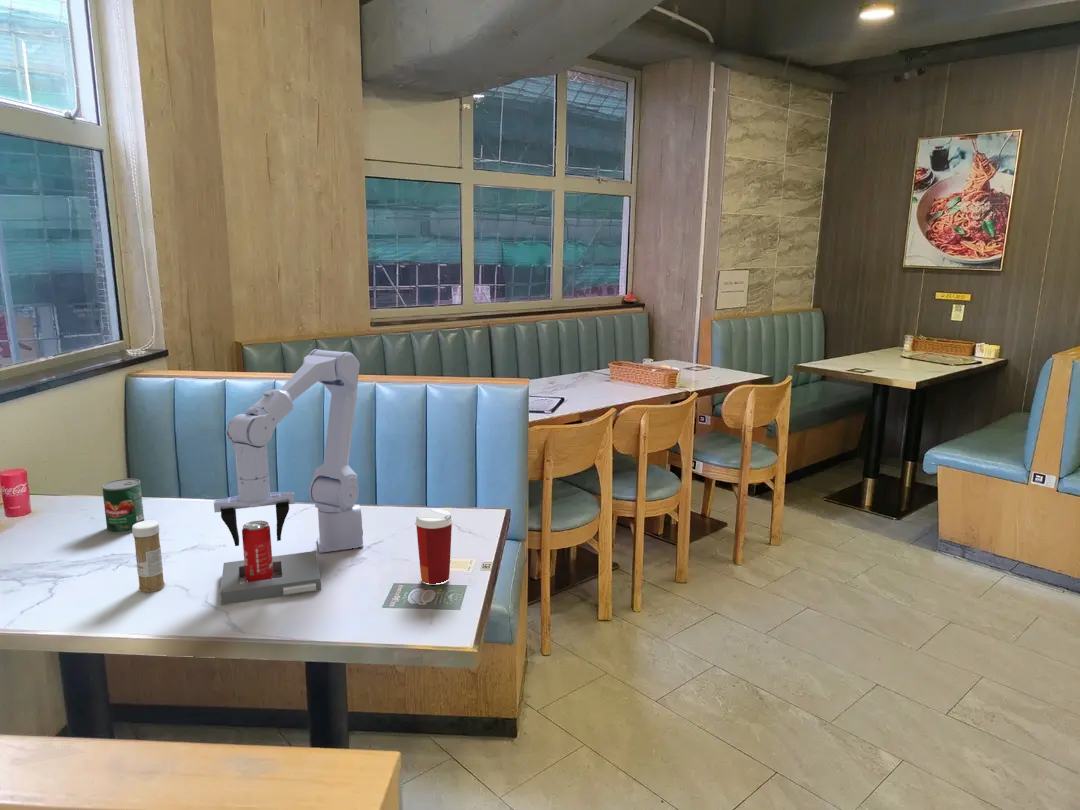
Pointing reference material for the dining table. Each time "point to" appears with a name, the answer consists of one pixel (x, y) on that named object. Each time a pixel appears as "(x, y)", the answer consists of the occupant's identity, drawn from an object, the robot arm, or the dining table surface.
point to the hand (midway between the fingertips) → (258, 541)
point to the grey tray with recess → (295, 579)
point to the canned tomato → (122, 505)
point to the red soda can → (257, 551)
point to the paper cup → (434, 544)
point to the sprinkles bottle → (148, 555)
